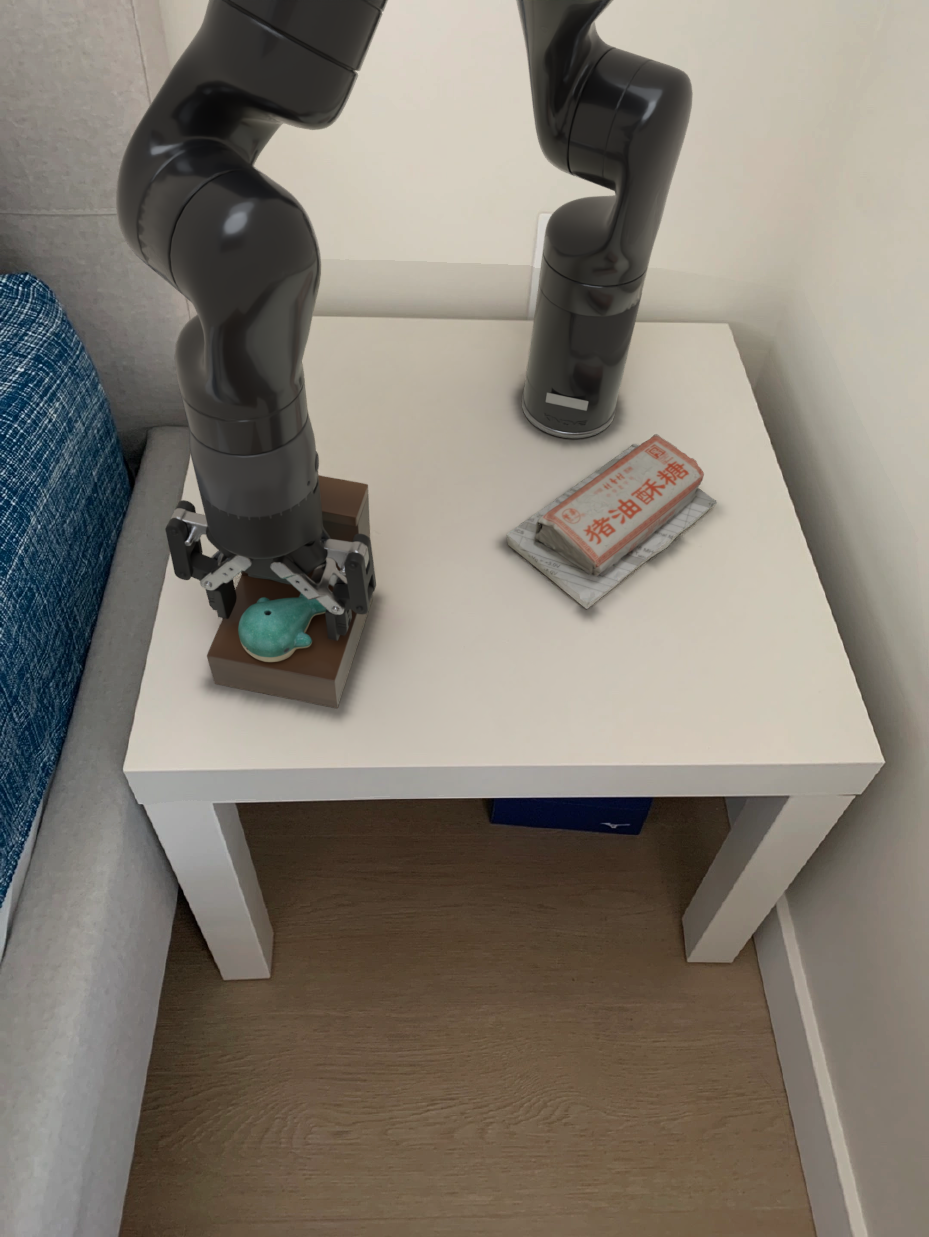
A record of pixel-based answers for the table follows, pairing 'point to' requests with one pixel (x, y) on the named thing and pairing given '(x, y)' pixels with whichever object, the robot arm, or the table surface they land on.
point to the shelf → (325, 660)
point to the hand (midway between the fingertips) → (282, 620)
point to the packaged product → (614, 519)
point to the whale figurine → (277, 627)
